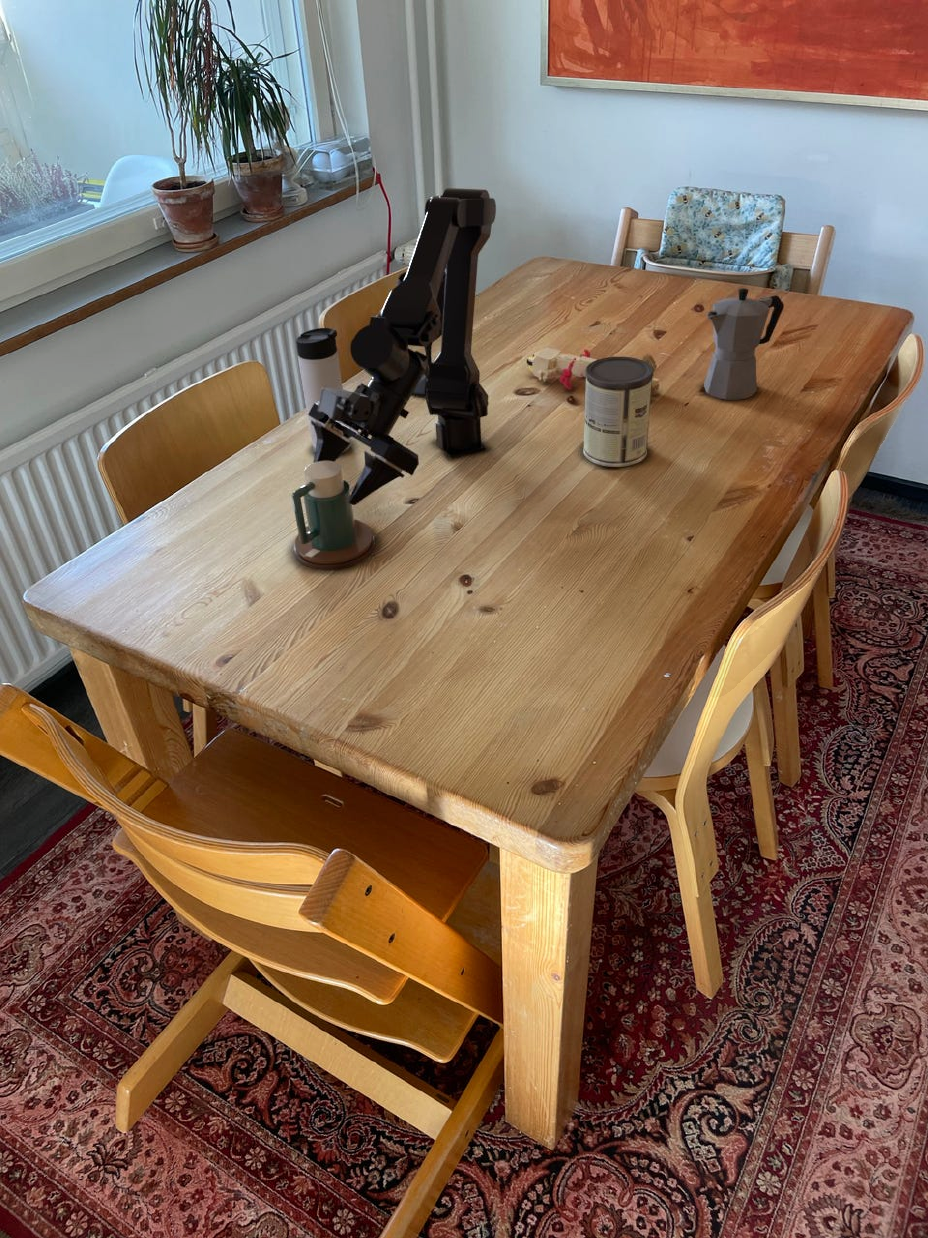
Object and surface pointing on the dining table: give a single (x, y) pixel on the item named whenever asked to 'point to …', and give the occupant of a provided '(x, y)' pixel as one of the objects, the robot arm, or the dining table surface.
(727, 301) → the coffeepot
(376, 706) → the dining table surface
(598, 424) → the coffee can
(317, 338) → the travel mug
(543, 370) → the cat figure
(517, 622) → the dining table surface
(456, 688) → the dining table surface
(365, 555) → the turntable
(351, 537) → the green cylinder with handle
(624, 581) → the dining table surface
